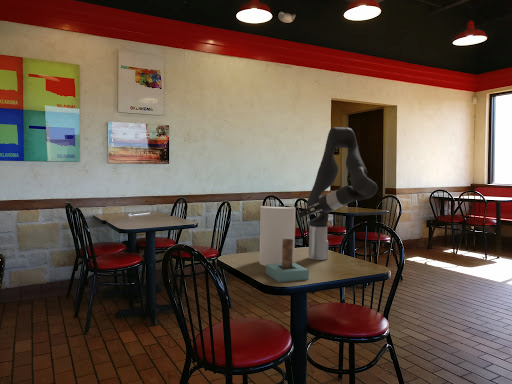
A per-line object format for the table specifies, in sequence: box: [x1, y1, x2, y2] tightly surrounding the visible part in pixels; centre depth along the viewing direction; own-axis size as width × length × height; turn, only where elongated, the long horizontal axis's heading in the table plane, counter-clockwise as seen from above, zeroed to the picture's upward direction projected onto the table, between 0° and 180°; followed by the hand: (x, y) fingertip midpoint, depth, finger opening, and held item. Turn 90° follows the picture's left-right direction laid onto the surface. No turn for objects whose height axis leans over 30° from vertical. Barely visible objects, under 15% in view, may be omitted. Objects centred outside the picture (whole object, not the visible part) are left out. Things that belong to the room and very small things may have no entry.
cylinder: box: [258, 205, 296, 267], centre depth 195 cm, size 17×17×28 cm
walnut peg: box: [282, 239, 293, 269], centre depth 171 cm, size 4×4×16 cm
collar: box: [265, 262, 310, 283], centre depth 171 cm, size 14×14×4 cm
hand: (304, 213), depth 179 cm, fingers open, 8 cm apart
